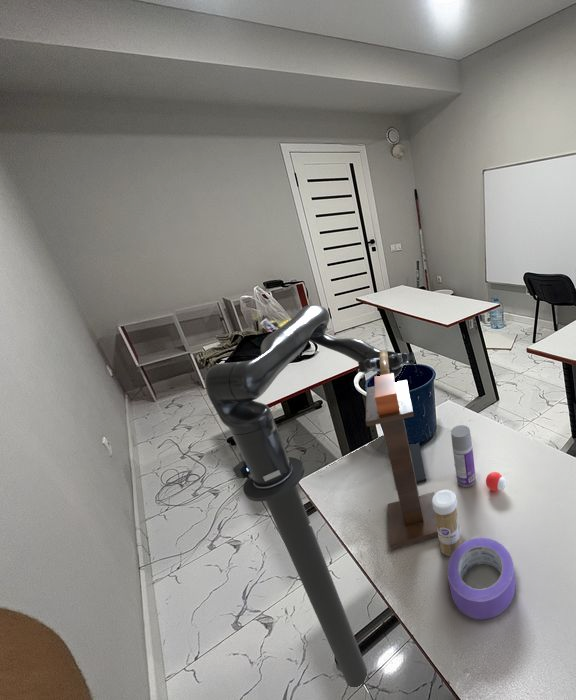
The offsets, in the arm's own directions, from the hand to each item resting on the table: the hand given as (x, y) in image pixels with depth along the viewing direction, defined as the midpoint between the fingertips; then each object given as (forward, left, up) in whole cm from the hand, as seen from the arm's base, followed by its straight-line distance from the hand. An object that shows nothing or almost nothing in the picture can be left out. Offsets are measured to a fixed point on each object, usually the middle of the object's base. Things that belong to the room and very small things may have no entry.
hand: (385, 360), depth 87 cm
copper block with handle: (+8, -14, +2) cm, 16 cm away
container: (+19, -5, -30) cm, 36 cm away
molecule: (+27, -6, -30) cm, 41 cm away
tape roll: (+29, -29, -30) cm, 51 cm away
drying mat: (+2, -2, -30) cm, 30 cm away
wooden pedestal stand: (+11, -19, -30) cm, 37 cm away
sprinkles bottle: (+21, -23, -30) cm, 44 cm away
